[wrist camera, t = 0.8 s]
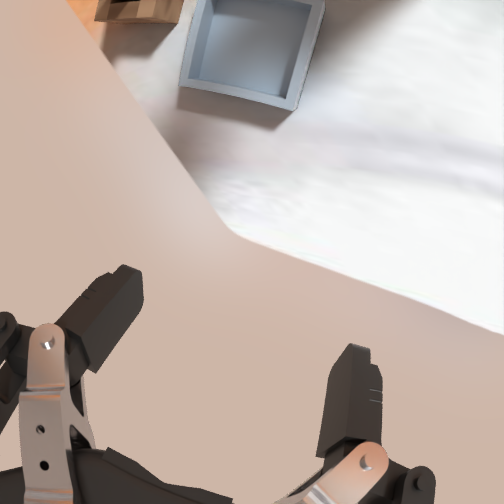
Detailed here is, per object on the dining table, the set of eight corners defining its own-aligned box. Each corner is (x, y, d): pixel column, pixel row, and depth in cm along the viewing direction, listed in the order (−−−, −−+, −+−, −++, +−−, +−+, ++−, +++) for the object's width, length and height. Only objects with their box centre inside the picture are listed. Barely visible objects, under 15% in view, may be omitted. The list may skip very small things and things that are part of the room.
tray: (216, -9, 25) (202, -18, 21) (325, 8, 23) (324, -1, 20) (193, 84, 32) (178, 85, 29) (297, 108, 31) (292, 111, 28)
